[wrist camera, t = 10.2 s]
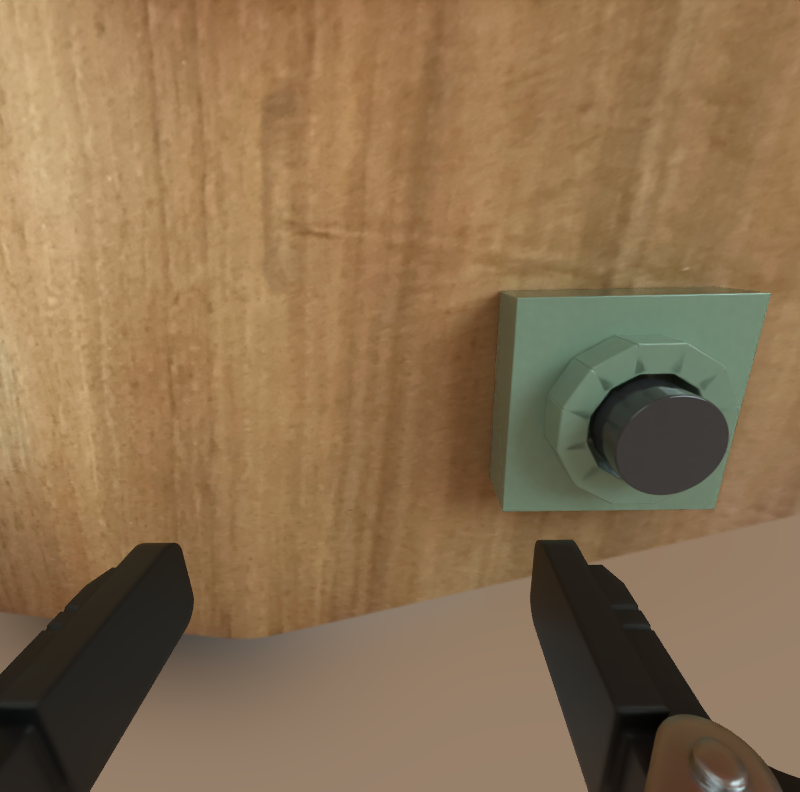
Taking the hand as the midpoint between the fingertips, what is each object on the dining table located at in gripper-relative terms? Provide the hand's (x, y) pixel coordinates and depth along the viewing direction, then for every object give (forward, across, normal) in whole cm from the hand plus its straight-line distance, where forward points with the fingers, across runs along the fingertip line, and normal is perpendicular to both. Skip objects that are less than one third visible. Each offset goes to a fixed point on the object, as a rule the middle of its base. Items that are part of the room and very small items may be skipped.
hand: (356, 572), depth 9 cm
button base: (+13, -10, 0) cm, 17 cm away
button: (+8, -11, 0) cm, 13 cm away
